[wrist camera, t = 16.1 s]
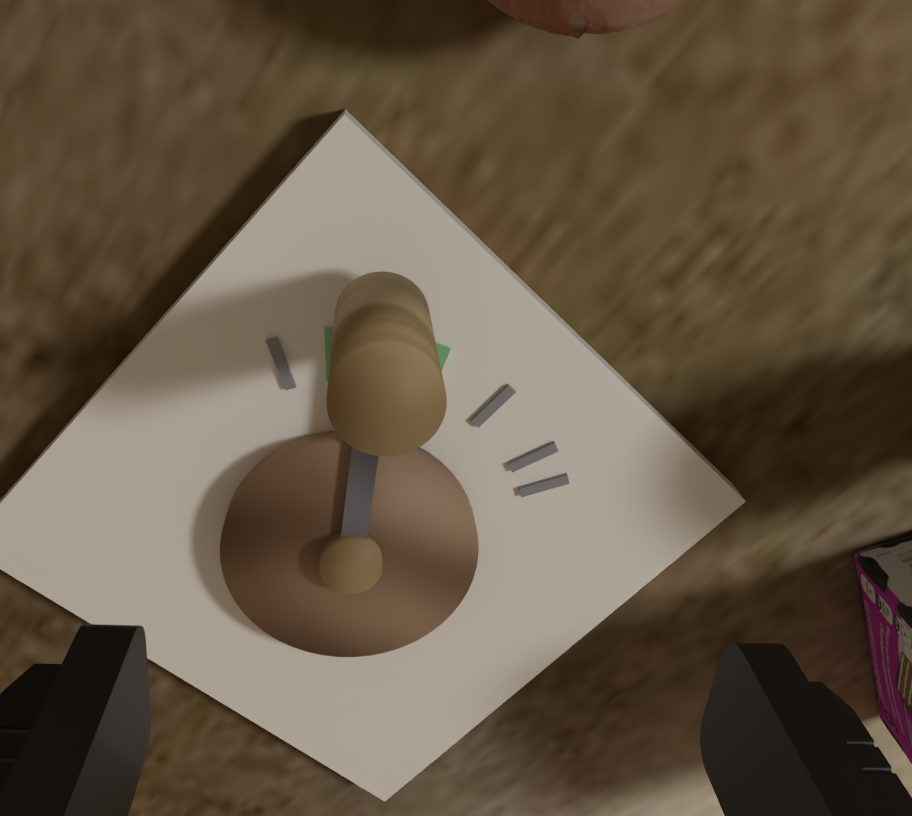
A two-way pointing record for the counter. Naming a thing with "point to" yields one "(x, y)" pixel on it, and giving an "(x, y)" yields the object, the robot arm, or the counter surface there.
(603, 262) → the counter surface
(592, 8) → the onion
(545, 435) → the dial panel
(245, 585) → the tuning dial
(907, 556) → the candy bar box
